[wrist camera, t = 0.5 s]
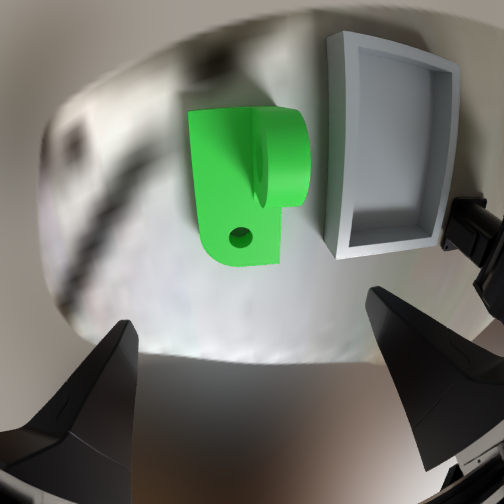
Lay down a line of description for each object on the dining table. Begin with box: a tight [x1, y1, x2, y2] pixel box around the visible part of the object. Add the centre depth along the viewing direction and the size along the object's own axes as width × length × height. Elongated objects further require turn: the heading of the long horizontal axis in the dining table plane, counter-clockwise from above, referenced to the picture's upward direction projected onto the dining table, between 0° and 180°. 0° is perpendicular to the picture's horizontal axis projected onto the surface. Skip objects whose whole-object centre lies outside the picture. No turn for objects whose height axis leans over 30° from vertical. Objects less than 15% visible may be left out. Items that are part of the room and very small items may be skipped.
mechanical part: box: [188, 106, 311, 267], centre depth 17 cm, size 12×6×8 cm, turn 1°
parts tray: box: [323, 30, 460, 259], centre depth 18 cm, size 11×17×3 cm, turn 3°
